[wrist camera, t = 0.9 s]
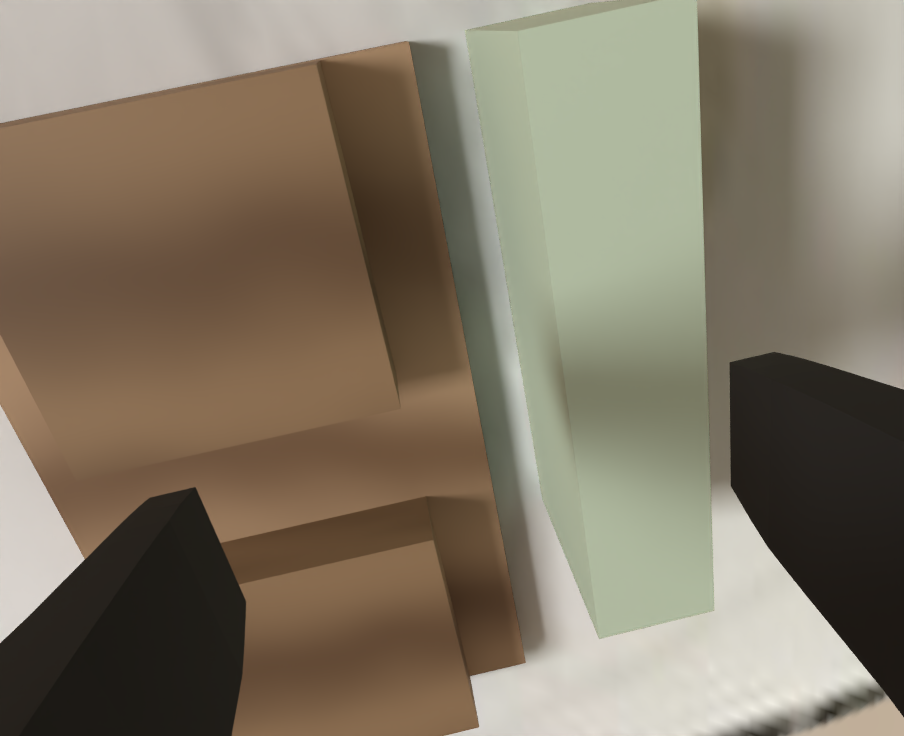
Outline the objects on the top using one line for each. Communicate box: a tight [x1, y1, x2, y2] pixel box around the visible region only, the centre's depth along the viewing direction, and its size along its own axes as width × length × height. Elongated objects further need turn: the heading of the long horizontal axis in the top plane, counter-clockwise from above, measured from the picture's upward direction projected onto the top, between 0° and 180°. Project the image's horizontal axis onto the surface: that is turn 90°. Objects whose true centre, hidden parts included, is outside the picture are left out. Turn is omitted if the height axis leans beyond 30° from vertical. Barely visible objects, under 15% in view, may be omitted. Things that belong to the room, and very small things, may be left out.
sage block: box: [465, 0, 714, 639], centre depth 17 cm, size 14×3×6 cm, turn 11°
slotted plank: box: [0, 41, 526, 736], centre depth 19 cm, size 20×12×3 cm, turn 10°
